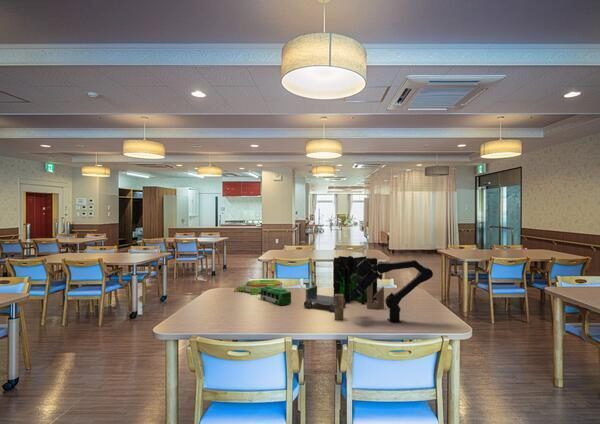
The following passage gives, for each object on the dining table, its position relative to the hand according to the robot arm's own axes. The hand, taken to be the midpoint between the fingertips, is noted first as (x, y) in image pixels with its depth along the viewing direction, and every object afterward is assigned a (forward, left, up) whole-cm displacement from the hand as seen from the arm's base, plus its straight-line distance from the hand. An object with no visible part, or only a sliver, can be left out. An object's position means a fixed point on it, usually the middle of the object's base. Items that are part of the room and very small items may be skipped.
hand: (349, 297), depth 210 cm
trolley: (+28, +8, -13) cm, 32 cm away
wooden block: (+21, -24, -13) cm, 34 cm away
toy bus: (+49, +38, -13) cm, 64 cm away
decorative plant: (+47, -19, -13) cm, 52 cm away
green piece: (+87, +45, -13) cm, 99 cm away
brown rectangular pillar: (+2, +6, -13) cm, 14 cm away
